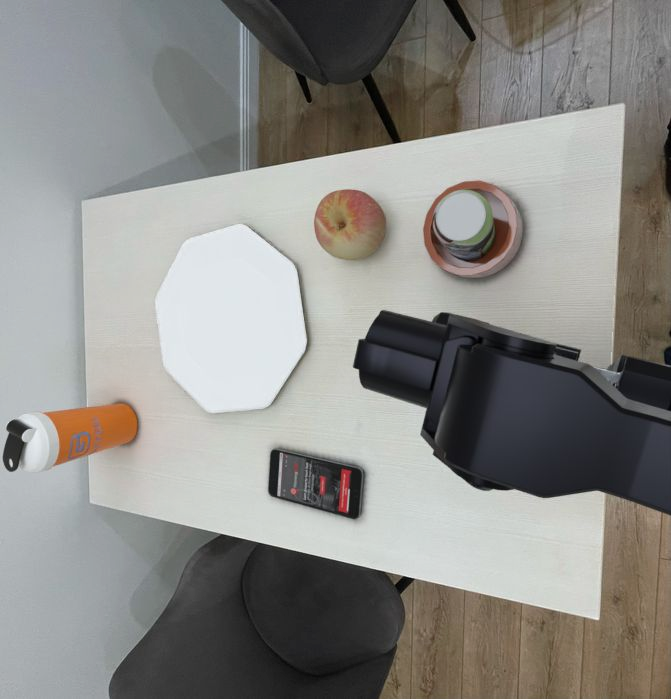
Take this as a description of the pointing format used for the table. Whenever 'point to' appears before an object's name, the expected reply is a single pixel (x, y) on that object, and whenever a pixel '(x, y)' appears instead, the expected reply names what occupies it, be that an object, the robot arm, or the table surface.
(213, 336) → the plate
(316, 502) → the smartphone
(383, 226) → the apple
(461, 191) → the beverage can
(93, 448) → the shaker bottle
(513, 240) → the bowl
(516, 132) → the table surface
